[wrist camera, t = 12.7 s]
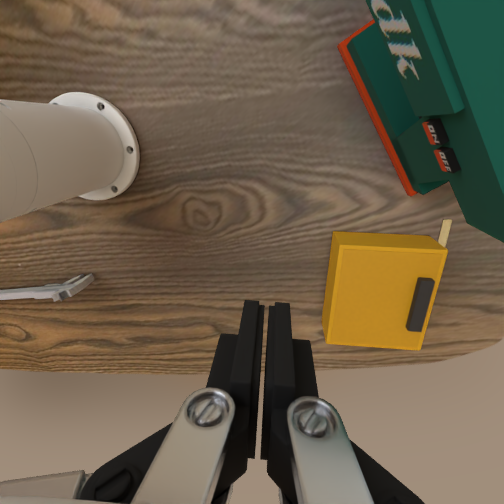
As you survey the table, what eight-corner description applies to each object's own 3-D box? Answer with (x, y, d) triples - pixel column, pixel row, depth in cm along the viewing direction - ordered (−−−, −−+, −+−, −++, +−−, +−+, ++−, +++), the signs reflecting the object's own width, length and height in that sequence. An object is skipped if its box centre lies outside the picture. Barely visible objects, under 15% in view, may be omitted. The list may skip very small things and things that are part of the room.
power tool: (265, -91, 29) (235, -469, 11) (333, -153, 27) (442, -749, 9) (402, 197, 38) (518, 265, 19) (461, 165, 36) (653, 207, 17)
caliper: (94, 271, 46) (67, 292, 40) (97, 278, 46) (70, 299, 40) (-21, 292, 49) (-62, 314, 43) (-18, 298, 49) (-57, 321, 43)
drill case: (321, 321, 45) (327, 348, 40) (332, 231, 40) (341, 247, 35) (409, 327, 44) (427, 356, 39) (433, 235, 39) (457, 253, 34)
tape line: (414, 338, 45) (414, 339, 45) (443, 219, 38) (443, 219, 38) (421, 338, 45) (421, 339, 45) (451, 219, 38) (452, 219, 38)
